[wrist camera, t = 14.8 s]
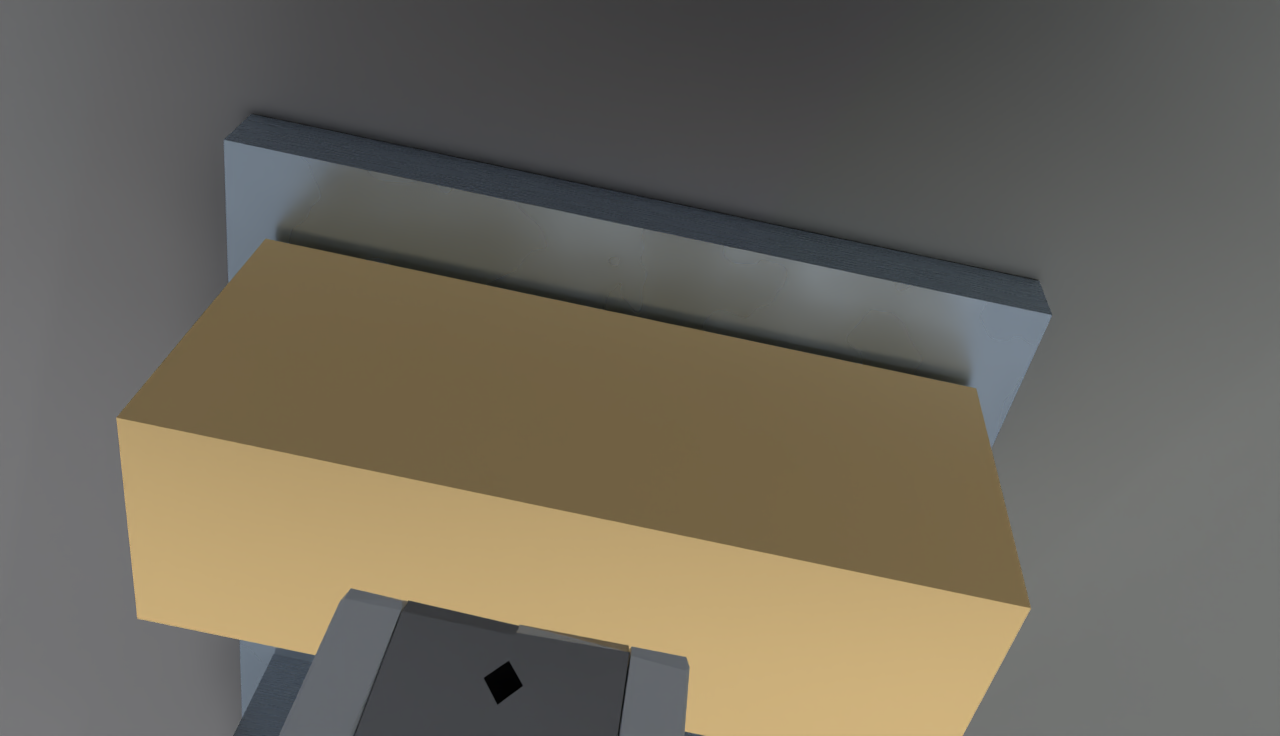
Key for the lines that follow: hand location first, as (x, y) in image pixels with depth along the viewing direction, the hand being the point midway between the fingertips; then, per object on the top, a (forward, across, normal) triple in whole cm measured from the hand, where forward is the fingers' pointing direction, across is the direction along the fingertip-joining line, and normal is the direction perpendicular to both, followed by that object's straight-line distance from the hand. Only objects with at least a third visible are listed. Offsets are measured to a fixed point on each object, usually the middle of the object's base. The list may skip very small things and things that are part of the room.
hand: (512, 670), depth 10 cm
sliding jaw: (+15, 0, +7) cm, 16 cm away
